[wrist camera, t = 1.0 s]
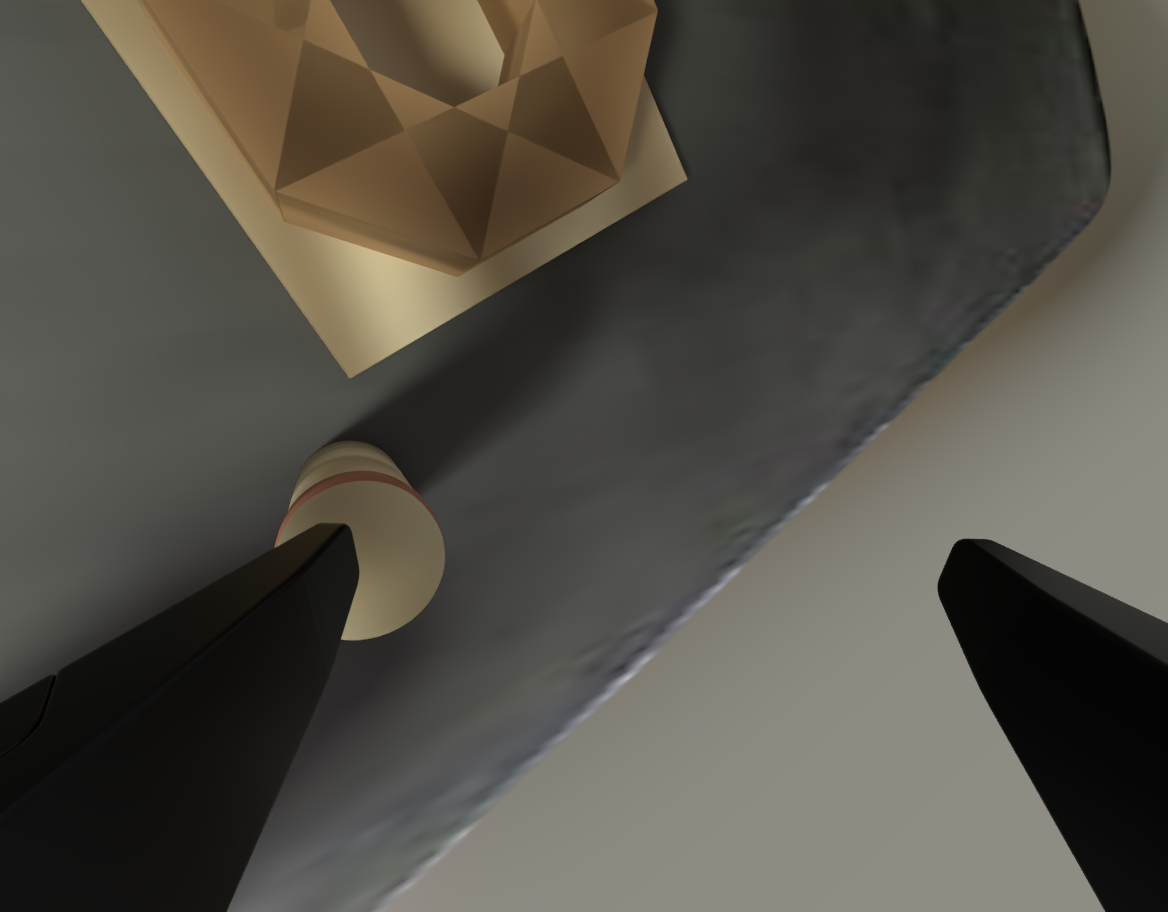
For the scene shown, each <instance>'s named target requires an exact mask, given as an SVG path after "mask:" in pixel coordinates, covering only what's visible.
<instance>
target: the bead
mask: <svg viewBox="0 0 1168 912" xmlns="http://www.w3.org/2000/svg"><path fill="white" fill-rule="evenodd" d="M138 1H139V3H140V5H141V7H142V9H143V11H144V13H145V15H146V17H147V19H148V20H149V22H150V24H151V26H152V28H153V30H154V32H155V34H156V35H157V36H158V38H159V39H160V41H161V42H162V44H163V45H164V47H165V48H166V49H167V51H168V52H169V54H170V55H171V57H172V58H173V60H174V61H175V63H176V64H177V66H178V67H179V69H180V70H181V71H182V73H183V74H184V76H185V77H186V79H187V80H188V82H189V83H190V85H191V86H192V88H193V89H194V91H195V92H196V93H197V95H198V96H199V98H200V99H201V101H202V102H203V104H204V105H205V107H206V108H207V110H208V111H209V113H210V114H211V115H212V117H213V118H214V120H215V121H216V123H217V124H218V126H219V127H220V129H221V130H222V132H223V133H224V135H225V136H226V137H227V139H228V140H229V142H230V143H231V145H232V146H233V148H234V149H235V151H236V152H237V154H238V155H239V157H240V158H241V159H242V161H243V162H244V164H245V165H246V167H247V168H248V170H249V171H250V173H251V174H252V176H253V177H254V179H255V180H256V181H257V183H258V184H259V186H260V187H261V189H262V190H263V192H264V193H265V195H266V196H267V198H268V199H269V201H270V202H271V203H272V205H273V206H274V208H275V209H276V211H277V212H278V214H279V215H280V217H281V218H282V220H283V222H286V223H289V224H293V225H296V226H299V227H302V228H305V229H308V230H311V231H315V232H318V233H321V234H324V235H327V236H330V237H333V238H336V239H340V240H343V241H346V242H349V243H352V244H355V245H358V246H362V247H365V248H368V249H371V250H374V251H377V252H380V253H383V254H387V255H390V256H393V257H396V258H399V259H402V260H405V261H409V262H412V263H415V264H418V265H421V266H424V267H427V268H430V269H434V270H437V271H440V272H443V273H446V274H449V275H452V276H456V277H459V276H460V275H462V274H464V273H465V272H467V271H469V270H471V269H472V268H474V267H476V266H478V265H479V264H481V263H483V262H485V261H486V260H488V259H490V258H492V257H494V256H495V255H497V254H499V253H501V252H502V251H504V250H506V249H508V248H509V247H511V246H513V245H515V244H516V243H518V242H520V241H522V240H523V239H525V238H527V237H529V236H530V235H532V234H534V233H536V232H538V231H539V230H541V229H543V228H545V227H546V226H548V225H550V224H552V223H553V222H555V221H557V220H559V219H560V218H562V217H564V216H566V215H567V214H569V213H571V212H573V211H575V210H576V209H578V208H580V207H582V206H583V205H585V204H586V203H588V202H589V201H591V200H592V199H594V198H596V197H597V196H599V195H600V194H602V193H603V192H605V191H606V190H608V189H609V188H611V187H612V186H614V185H615V184H617V183H618V182H620V179H621V174H622V170H623V165H624V161H625V156H626V152H627V147H628V143H629V138H630V134H631V129H632V125H633V120H634V116H635V111H636V107H637V102H638V98H639V93H640V89H641V84H642V80H643V75H644V70H645V66H646V61H647V57H648V52H649V48H650V43H651V39H652V34H653V30H654V25H655V21H656V16H657V12H658V10H657V7H656V5H655V2H654V0H477V1H478V3H479V5H480V7H481V9H482V11H483V13H484V15H485V17H486V19H487V21H488V23H489V25H490V27H491V29H492V31H493V33H494V35H495V37H496V39H497V41H498V43H499V45H500V47H501V49H502V51H503V53H504V60H503V64H502V69H501V74H500V79H499V83H498V87H496V88H494V89H492V90H490V91H487V92H485V93H483V94H481V95H479V96H477V97H475V98H473V99H470V100H468V101H466V102H464V103H462V104H460V105H458V106H456V107H452V106H450V105H448V104H446V103H444V102H441V101H439V100H437V99H435V98H432V97H430V96H428V95H426V94H423V93H421V92H419V91H417V90H415V89H412V88H410V87H408V86H406V85H403V84H401V83H399V82H397V81H394V80H392V79H390V78H388V77H386V76H383V75H381V74H379V73H377V72H374V71H372V70H370V69H369V67H368V66H367V64H366V62H365V60H364V59H363V57H362V55H361V53H360V52H359V50H358V48H357V46H356V45H355V43H354V41H353V39H352V38H351V36H350V34H349V32H348V31H347V29H346V27H345V26H344V24H343V22H342V20H341V19H340V17H339V15H338V13H337V12H336V10H335V8H334V6H333V5H332V3H331V1H330V0H138Z"/></svg>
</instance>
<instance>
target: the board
mask: <svg viewBox="0 0 1168 912" xmlns="http://www.w3.org/2000/svg"><path fill="white" fill-rule="evenodd" d="M81 1H82V3H83V4H84V5H85V7H86V8H87V10H88V11H89V12H90V14H91V15H92V17H93V18H94V20H95V21H96V22H97V24H98V25H99V27H100V28H101V29H102V31H103V32H104V34H105V35H106V36H107V38H108V39H109V41H110V42H111V43H112V45H113V46H114V48H115V49H116V50H117V52H118V53H119V55H120V56H121V58H122V59H123V60H124V62H125V63H126V65H127V66H128V67H129V69H130V70H131V72H132V73H133V74H134V76H135V77H136V79H137V80H138V81H139V83H140V84H141V86H142V87H143V88H144V90H145V91H146V93H147V94H148V96H149V97H150V98H151V100H152V101H153V103H154V104H155V105H156V107H157V108H158V110H159V111H160V112H161V114H162V115H163V117H164V118H165V119H166V121H167V122H168V124H169V125H170V126H171V128H172V129H173V131H174V132H175V134H176V135H177V136H178V138H179V139H180V141H181V142H182V143H183V145H184V146H185V148H186V149H187V150H188V152H189V153H190V155H191V156H192V157H193V159H194V160H195V162H196V163H197V164H198V166H199V167H200V169H201V170H202V172H203V173H204V174H205V176H206V177H207V179H208V180H209V181H210V183H211V184H212V186H213V187H214V188H215V190H216V191H217V193H218V194H219V195H220V197H221V198H222V200H223V201H224V202H225V204H226V205H227V207H228V208H229V210H230V211H231V212H232V214H233V215H234V217H235V218H236V219H237V221H238V222H239V224H240V225H241V226H242V228H243V229H244V231H245V232H246V233H247V235H248V236H249V238H250V239H251V240H252V242H253V243H254V245H255V246H256V248H257V249H258V250H259V252H260V253H261V255H262V256H263V257H264V259H265V260H266V262H267V263H268V264H269V266H270V267H271V269H272V270H273V271H274V273H275V274H276V276H277V277H278V278H279V280H280V281H281V283H282V284H283V286H284V287H285V288H286V290H287V291H288V293H289V294H290V295H291V297H292V298H293V300H294V301H295V302H296V304H297V305H298V307H299V308H300V309H301V311H302V312H303V314H304V315H305V317H306V318H307V319H308V321H309V322H310V324H311V325H312V326H313V328H314V329H315V331H316V332H317V333H318V335H319V336H320V338H321V339H322V340H323V342H324V343H325V345H326V346H327V347H328V349H329V350H330V352H331V353H332V355H333V356H334V357H335V359H336V360H337V362H338V363H339V364H340V366H341V367H342V369H343V370H344V371H345V373H346V374H347V376H348V377H349V378H352V377H354V376H355V375H357V374H359V373H360V372H362V371H364V370H365V369H367V368H369V367H370V366H372V365H374V364H376V363H377V362H379V361H381V360H382V359H384V358H386V357H387V356H389V355H391V354H393V353H394V352H396V351H398V350H399V349H401V348H403V347H404V346H406V345H408V344H410V343H411V342H413V341H415V340H416V339H418V338H420V337H421V336H423V335H425V334H426V333H428V332H430V331H432V330H433V329H435V328H437V327H438V326H440V325H442V324H443V323H445V322H447V321H449V320H450V319H452V318H454V317H455V316H457V315H459V314H460V313H462V312H464V311H465V310H467V309H469V308H471V307H472V306H474V305H476V304H477V303H479V302H481V301H482V300H484V299H486V298H488V297H489V296H491V295H493V294H494V293H496V292H498V291H499V290H501V289H503V288H504V287H506V286H508V285H510V284H511V283H513V282H515V281H516V280H518V279H520V278H521V277H523V276H525V275H527V274H528V273H530V272H532V271H533V270H535V269H537V268H538V267H540V266H542V265H543V264H545V263H547V262H549V261H550V260H552V259H554V258H555V257H557V256H559V255H560V254H562V253H564V252H566V251H567V250H569V249H571V248H572V247H574V246H576V245H577V244H579V243H581V242H583V241H584V240H586V239H588V238H589V237H591V236H593V235H594V234H596V233H598V232H599V231H601V230H603V229H605V228H606V227H608V226H610V225H611V224H613V223H615V222H616V221H618V220H620V219H622V218H623V217H625V216H627V215H628V214H630V213H632V212H633V211H635V210H637V209H638V208H640V207H642V206H644V205H645V204H647V203H649V202H650V201H652V200H654V199H655V198H657V197H659V196H661V195H662V194H664V193H666V192H667V191H669V190H671V189H672V188H674V187H676V186H677V185H679V184H681V183H683V182H684V181H686V180H688V179H687V177H686V174H685V172H684V170H683V167H682V165H681V163H680V160H679V158H678V155H677V153H676V151H675V148H674V146H673V143H672V141H671V139H670V136H669V134H668V132H667V129H666V127H665V124H664V122H663V120H662V117H661V115H660V112H659V110H658V108H657V105H656V103H655V101H654V98H653V96H652V93H651V91H650V89H649V86H648V84H647V81H646V79H645V77H644V75H643V80H642V84H641V89H640V93H639V98H638V102H637V107H636V111H635V116H634V120H633V125H632V129H631V134H630V138H629V143H628V147H627V152H626V156H625V161H624V165H623V170H622V174H621V179H620V182H618V183H617V184H615V185H614V186H612V187H611V188H609V189H608V190H606V191H605V192H603V193H602V194H600V195H599V196H597V197H596V198H594V199H592V200H591V201H589V202H588V203H586V204H585V205H583V206H582V207H580V208H578V209H576V210H575V211H573V212H571V213H569V214H567V215H566V216H564V217H562V218H560V219H559V220H557V221H555V222H553V223H552V224H550V225H548V226H546V227H545V228H543V229H541V230H539V231H538V232H536V233H534V234H532V235H530V236H529V237H527V238H525V239H523V240H522V241H520V242H518V243H516V244H515V245H513V246H511V247H509V248H508V249H506V250H504V251H502V252H501V253H499V254H497V255H495V256H494V257H492V258H490V259H488V260H486V261H485V262H483V263H481V264H479V265H478V266H476V267H474V268H472V269H471V270H469V271H467V272H465V273H464V274H462V275H460V276H459V277H456V276H452V275H449V274H446V273H443V272H440V271H437V270H434V269H430V268H427V267H424V266H421V265H418V264H415V263H412V262H409V261H405V260H402V259H399V258H396V257H393V256H390V255H387V254H383V253H380V252H377V251H374V250H371V249H368V248H365V247H362V246H358V245H355V244H352V243H349V242H346V241H343V240H340V239H336V238H333V237H330V236H327V235H324V234H321V233H318V232H315V231H311V230H308V229H305V228H302V227H299V226H296V225H293V224H289V223H286V222H283V220H282V218H281V217H280V215H279V214H278V212H277V211H276V209H275V208H274V206H273V205H272V203H271V202H270V201H269V199H268V198H267V196H266V195H265V193H264V192H263V190H262V189H261V187H260V186H259V184H258V183H257V181H256V180H255V179H254V177H253V176H252V174H251V173H250V171H249V170H248V168H247V167H246V165H245V164H244V162H243V161H242V159H241V158H240V157H239V155H238V154H237V152H236V151H235V149H234V148H233V146H232V145H231V143H230V142H229V140H228V139H227V137H226V136H225V135H224V133H223V132H222V130H221V129H220V127H219V126H218V124H217V123H216V121H215V120H214V118H213V117H212V115H211V114H210V113H209V111H208V110H207V108H206V107H205V105H204V104H203V102H202V101H201V99H200V98H199V96H198V95H197V93H196V92H195V91H194V89H193V88H192V86H191V85H190V83H189V82H188V80H187V79H186V77H185V76H184V74H183V73H182V71H181V70H180V69H179V67H178V66H177V64H176V63H175V61H174V60H173V58H172V57H171V55H170V54H169V52H168V51H167V49H166V48H165V47H164V45H163V44H162V42H161V41H160V39H159V38H158V36H157V35H156V34H155V32H154V30H153V28H152V26H151V24H150V22H149V20H148V19H147V17H146V15H145V13H144V11H143V9H142V7H141V5H140V3H139V1H138V0H81ZM330 1H331V3H332V5H333V6H334V8H335V10H336V12H337V13H338V15H339V17H340V19H341V20H342V22H343V24H344V26H345V27H346V29H347V31H348V32H349V34H350V36H351V38H352V39H353V41H354V43H355V45H356V46H357V48H358V50H359V52H360V53H361V55H362V57H363V59H364V60H365V62H366V64H367V66H368V67H369V69H370V70H372V71H374V72H377V73H379V74H381V75H383V76H386V77H388V78H390V79H392V80H394V81H397V82H399V83H401V84H403V85H406V86H408V87H410V88H412V89H415V90H417V91H419V92H421V93H423V94H426V95H428V96H430V97H432V98H435V99H437V100H439V101H441V102H444V103H446V104H448V105H450V106H452V107H456V106H458V105H460V104H462V103H464V102H466V101H468V100H470V99H473V98H475V97H477V96H479V95H481V94H483V93H485V92H487V91H490V90H492V89H494V88H496V87H498V83H499V79H500V74H501V69H502V64H503V60H504V53H503V51H502V49H501V47H500V45H499V43H498V41H497V39H496V37H495V35H494V33H493V31H492V29H491V27H490V25H489V23H488V21H487V19H486V17H485V15H484V13H483V11H482V9H481V7H480V5H479V3H478V1H477V0H330Z"/></svg>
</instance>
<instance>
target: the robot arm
mask: <svg viewBox="0 0 1168 912" xmlns="http://www.w3.org/2000/svg"><path fill="white" fill-rule="evenodd" d="M359 575H360V569H359V563H358V558H357V553H356V548H355V544H354V539H353V534H352V531H351V528H350V527H349V526H348V525H347V524H345V523H318V524H316V525H314V526H312V527H311V528H309V529H307V530H305V531H304V532H302V533H300V534H298V535H297V536H295V537H293V538H291V539H290V540H288V541H286V542H284V543H282V544H281V545H279V546H277V547H275V548H274V549H272V550H270V551H268V552H267V553H265V554H263V555H261V556H260V557H258V558H256V559H254V560H252V561H251V562H249V563H247V564H245V565H244V566H242V567H240V568H238V569H237V570H235V571H233V572H231V573H229V574H228V575H226V576H224V577H222V578H221V579H219V580H217V581H215V582H214V583H212V584H210V585H208V586H206V587H205V588H203V589H201V590H199V591H198V592H196V593H194V594H192V595H191V596H189V597H187V598H185V599H184V600H182V601H180V602H178V603H176V604H175V605H173V606H171V607H169V608H168V609H166V610H164V611H162V612H161V613H159V614H157V615H155V616H153V617H152V618H150V619H148V620H146V621H145V622H143V623H141V624H139V625H138V626H136V627H134V628H132V629H130V630H129V631H127V632H125V633H123V634H122V635H120V636H118V637H116V638H115V639H113V640H111V641H109V642H108V643H106V644H104V645H102V646H100V647H99V648H97V649H95V650H93V651H92V652H90V653H88V654H86V655H85V656H83V657H81V658H79V659H77V660H76V661H74V662H72V663H70V664H69V665H67V666H65V667H63V668H62V669H60V670H59V671H58V672H57V675H49V676H47V677H45V678H44V679H42V680H40V681H38V682H37V683H35V684H33V685H31V686H30V687H28V688H26V689H24V690H23V691H21V692H19V693H17V694H16V695H14V696H12V697H10V698H8V699H7V700H5V701H3V702H1V703H0V912H227V910H228V908H229V905H230V903H231V901H232V899H233V896H234V894H235V892H236V889H237V887H238V885H239V883H240V880H241V878H242V876H243V873H244V871H245V869H246V867H247V864H248V862H249V860H250V857H251V855H252V853H253V851H254V848H255V846H256V844H257V841H258V839H259V837H260V834H261V832H262V830H263V828H264V825H265V823H266V821H267V818H268V816H269V814H270V812H271V809H272V807H273V805H274V802H275V800H276V798H277V796H278V793H279V791H280V789H281V786H282V784H283V782H284V780H285V777H286V775H287V773H288V770H289V768H290V766H291V764H292V761H293V759H294V757H295V754H296V752H297V750H298V748H299V745H300V743H301V741H302V738H303V736H304V734H305V732H306V729H307V727H308V725H309V722H310V720H311V718H312V715H313V713H314V711H315V709H316V706H317V704H318V702H319V699H320V697H321V695H322V693H323V690H324V688H325V685H326V683H327V680H328V678H329V675H330V672H331V669H332V666H333V663H334V660H335V657H336V654H337V651H338V647H339V644H340V641H341V638H342V634H343V631H344V628H345V625H346V621H347V618H348V615H349V612H350V608H351V605H352V602H353V599H354V596H355V592H356V589H357V586H358V582H359ZM938 595H939V598H940V601H941V603H942V605H943V607H944V609H945V612H946V614H947V616H948V619H949V621H950V623H951V626H952V627H953V630H954V632H955V634H956V637H957V639H958V641H959V644H960V646H961V648H962V650H963V653H964V655H965V657H966V659H967V662H968V664H969V666H970V668H971V671H972V673H973V675H974V677H975V679H976V681H977V684H978V686H979V688H980V690H981V692H982V694H983V695H984V697H985V699H986V701H987V703H988V705H989V707H990V709H991V710H992V712H993V714H994V715H995V718H996V719H997V721H998V723H999V725H1000V726H1001V728H1002V730H1003V732H1004V733H1005V735H1006V737H1007V739H1008V741H1009V742H1010V744H1011V746H1012V748H1013V749H1014V751H1015V753H1016V755H1017V756H1018V758H1019V760H1020V762H1021V763H1022V765H1023V767H1024V769H1025V771H1026V772H1027V774H1028V776H1029V778H1030V779H1031V781H1032V783H1033V785H1034V786H1035V788H1036V790H1037V792H1038V793H1039V795H1040V797H1041V799H1042V801H1043V802H1044V804H1045V806H1046V808H1047V810H1048V811H1049V813H1050V815H1051V817H1052V818H1053V820H1054V822H1055V824H1056V825H1057V827H1058V829H1059V831H1060V832H1061V834H1062V836H1063V838H1064V839H1065V841H1066V843H1067V845H1068V847H1069V848H1070V850H1071V852H1072V854H1073V855H1074V857H1075V859H1076V861H1077V863H1078V864H1079V866H1080V868H1081V870H1082V871H1083V873H1084V875H1085V876H1086V879H1087V880H1088V882H1089V884H1090V886H1091V887H1092V889H1093V891H1094V892H1095V894H1096V896H1097V898H1098V900H1099V902H1100V903H1101V905H1102V907H1103V909H1104V910H1105V912H1168V623H1166V622H1164V621H1162V620H1160V619H1158V618H1156V617H1154V616H1151V615H1149V614H1147V613H1145V612H1143V611H1141V610H1139V609H1137V608H1135V607H1132V606H1130V605H1128V604H1126V603H1124V602H1122V601H1120V600H1117V599H1115V598H1113V597H1111V596H1109V595H1107V594H1105V593H1103V592H1101V591H1098V590H1096V589H1094V588H1092V587H1090V586H1088V585H1086V584H1084V583H1081V582H1079V581H1077V580H1075V579H1073V578H1071V577H1069V576H1066V575H1064V574H1062V573H1060V572H1058V571H1056V570H1054V569H1051V568H1050V567H1047V566H1045V565H1043V564H1041V563H1039V562H1037V561H1035V560H1033V559H1030V558H1028V557H1026V556H1024V555H1022V554H1020V553H1018V552H1016V551H1013V550H1011V549H1009V548H1007V547H1005V546H1003V545H1001V544H998V543H996V542H994V541H992V540H987V539H962V540H959V541H957V542H956V543H955V544H954V546H953V547H952V550H951V552H950V554H949V557H948V559H947V562H946V564H945V566H944V568H943V571H942V573H941V575H940V578H939V581H938Z"/></svg>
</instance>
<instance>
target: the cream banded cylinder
mask: <svg viewBox="0 0 1168 912" xmlns="http://www.w3.org/2000/svg"><path fill="white" fill-rule="evenodd" d="M318 523H345V524H347V525H348V526H349V527H350V528H351V531H352V534H353V539H354V544H355V548H356V553H357V558H358V563H359V569H360V575H359V582H358V586H357V589H356V592H355V596H354V599H353V602H352V605H351V608H350V612H349V615H348V618H347V621H346V625H345V628H344V631H343V634H342V638H341V640H363V639H371V638H374V637H378V636H382V635H385V634H387V633H390V632H392V631H394V630H396V629H398V628H400V627H402V626H403V625H405V624H406V623H408V622H409V621H411V620H412V619H413V618H414V617H416V616H417V615H418V614H419V613H420V612H421V611H422V610H423V609H424V608H425V607H426V605H427V604H428V603H429V602H430V600H431V599H432V597H433V596H434V594H435V592H436V590H437V588H438V586H439V584H440V581H441V578H442V575H443V571H444V565H445V548H444V541H443V538H442V534H441V530H440V527H439V524H438V522H437V520H436V518H435V516H434V514H433V513H432V511H431V510H430V508H429V507H428V505H427V504H426V503H425V501H424V500H423V499H422V498H421V496H420V495H419V494H418V493H417V492H416V491H415V490H414V489H413V488H412V487H411V486H410V484H409V483H408V481H407V480H406V479H405V477H404V476H403V474H402V473H401V471H400V470H399V469H398V467H397V466H396V464H395V463H394V462H393V460H392V459H391V458H390V457H389V456H388V455H387V454H386V453H385V452H384V451H382V450H381V449H380V448H378V447H376V446H374V445H372V444H369V443H366V442H362V441H354V440H346V441H339V442H335V443H332V444H329V445H326V446H324V447H323V448H321V449H319V450H318V451H316V452H315V453H314V454H313V455H312V456H310V457H309V459H308V460H307V461H306V462H305V464H304V465H303V467H302V468H301V471H300V473H299V475H298V479H297V482H296V486H295V489H294V492H293V496H292V499H291V502H290V506H289V509H288V512H287V513H286V515H285V517H284V519H283V522H282V524H281V527H280V530H279V533H278V536H277V540H276V543H275V547H277V546H279V545H281V544H282V543H284V542H286V541H288V540H290V539H291V538H293V537H295V536H297V535H298V534H300V533H302V532H304V531H305V530H307V529H309V528H311V527H312V526H314V525H316V524H318ZM275 547H274V548H275Z"/></svg>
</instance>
